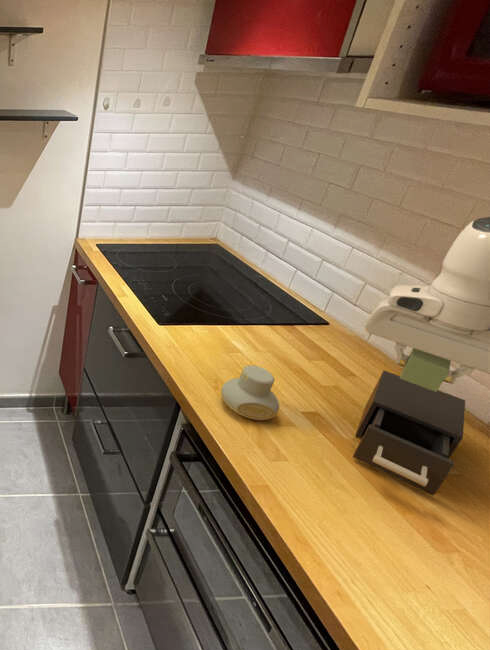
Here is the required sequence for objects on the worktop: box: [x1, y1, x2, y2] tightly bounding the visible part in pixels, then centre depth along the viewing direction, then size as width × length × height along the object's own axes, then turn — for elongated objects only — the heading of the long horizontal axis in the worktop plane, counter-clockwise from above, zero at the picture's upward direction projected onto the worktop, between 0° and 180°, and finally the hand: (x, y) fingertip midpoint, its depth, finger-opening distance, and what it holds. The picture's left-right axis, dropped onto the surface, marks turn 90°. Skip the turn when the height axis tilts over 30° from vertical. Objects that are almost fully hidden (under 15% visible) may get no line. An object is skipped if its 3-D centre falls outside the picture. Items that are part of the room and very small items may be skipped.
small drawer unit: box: [354, 369, 466, 459], centre depth 92 cm, size 15×13×10 cm
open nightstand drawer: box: [352, 407, 455, 497], centre depth 85 cm, size 18×11×8 cm, turn 132°
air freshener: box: [221, 365, 280, 421], centre depth 98 cm, size 11×8×10 cm
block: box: [399, 348, 452, 392], centre depth 82 cm, size 5×5×5 cm
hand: (422, 372), depth 83 cm, fingers closed on block, 5 cm apart
